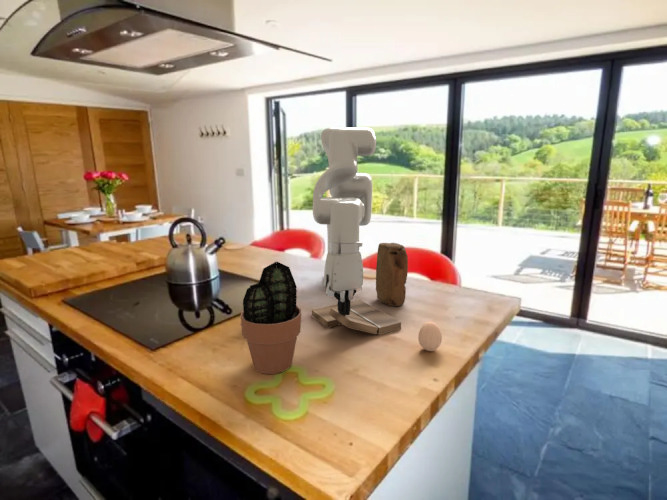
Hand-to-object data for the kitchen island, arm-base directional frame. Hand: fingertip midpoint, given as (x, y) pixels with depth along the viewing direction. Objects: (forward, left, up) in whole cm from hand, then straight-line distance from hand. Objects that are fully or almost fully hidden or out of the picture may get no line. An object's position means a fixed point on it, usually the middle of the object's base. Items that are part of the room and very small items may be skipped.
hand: (343, 313), depth 106 cm
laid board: (-6, +12, -6) cm, 15 cm away
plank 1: (-11, +3, -6) cm, 13 cm away
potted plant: (+5, -23, -6) cm, 24 cm away
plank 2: (0, +3, -4) cm, 5 cm away
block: (-14, +27, -6) cm, 31 cm away
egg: (+18, +14, -6) cm, 24 cm away
